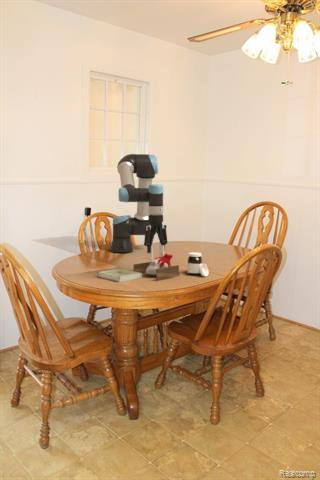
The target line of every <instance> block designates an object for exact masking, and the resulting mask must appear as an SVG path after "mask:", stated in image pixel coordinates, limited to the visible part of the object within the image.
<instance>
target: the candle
mask: <svg viewBox="0 0 320 480" xmlns="http://www.w3.org/2000/svg"><path fill="white" fill-rule="evenodd" d="M173 257H174V256H173V254H168V253H164V256H163V257H156V258H153V259H152V260H151V261H150V262H151V263H150V265H149V266H148V268H147V269H146V273H145V274H147V275H151V276H155V275H156V269H158V268H164V267H170V266H172V264H171V259H172V258H173Z"/></svg>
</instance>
